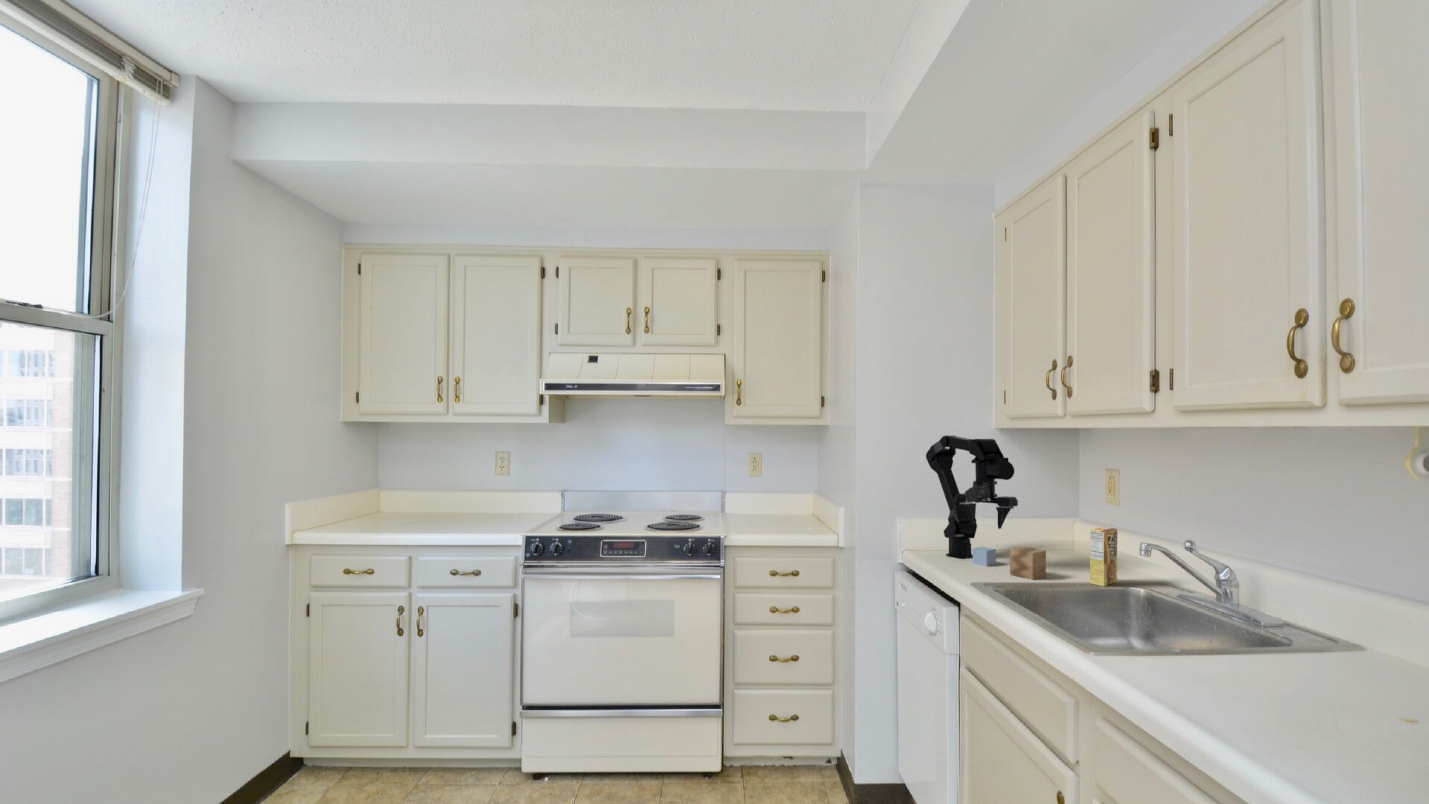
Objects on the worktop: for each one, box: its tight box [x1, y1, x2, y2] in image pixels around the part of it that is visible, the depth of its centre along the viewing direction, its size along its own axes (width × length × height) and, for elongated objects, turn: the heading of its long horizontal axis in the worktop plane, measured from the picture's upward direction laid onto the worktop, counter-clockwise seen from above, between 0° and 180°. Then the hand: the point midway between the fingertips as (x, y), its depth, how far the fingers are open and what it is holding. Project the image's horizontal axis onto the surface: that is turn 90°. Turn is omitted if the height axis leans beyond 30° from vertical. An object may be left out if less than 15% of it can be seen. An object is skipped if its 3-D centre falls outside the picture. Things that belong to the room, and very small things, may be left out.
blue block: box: [972, 546, 997, 567], centre depth 220 cm, size 5×5×5 cm
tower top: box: [1009, 546, 1047, 567], centre depth 204 cm, size 7×7×4 cm
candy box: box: [1089, 526, 1118, 587], centre depth 196 cm, size 9×4×15 cm, turn 129°
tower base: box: [1009, 562, 1047, 581], centre depth 204 cm, size 7×7×4 cm
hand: (985, 527), depth 220 cm, fingers open, 9 cm apart
